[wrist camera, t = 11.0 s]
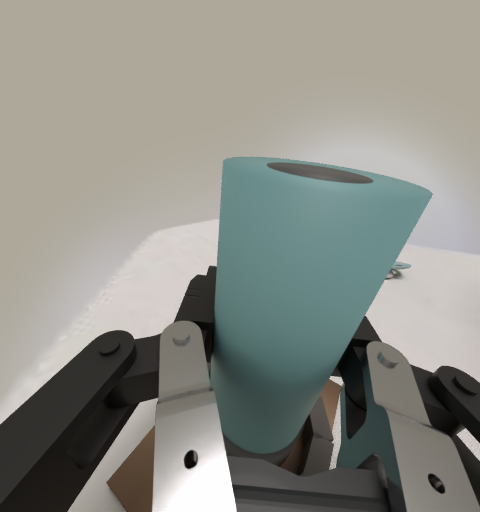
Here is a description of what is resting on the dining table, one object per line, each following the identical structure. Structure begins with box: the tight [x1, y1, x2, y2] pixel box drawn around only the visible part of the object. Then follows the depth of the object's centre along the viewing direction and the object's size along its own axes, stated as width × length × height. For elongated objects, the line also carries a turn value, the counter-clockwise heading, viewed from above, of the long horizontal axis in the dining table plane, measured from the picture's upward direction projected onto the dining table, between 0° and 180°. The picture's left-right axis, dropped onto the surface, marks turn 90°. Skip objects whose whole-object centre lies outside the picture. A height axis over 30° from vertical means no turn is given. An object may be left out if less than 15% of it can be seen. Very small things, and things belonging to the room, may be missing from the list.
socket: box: [106, 357, 341, 512], centre depth 13 cm, size 12×9×3 cm
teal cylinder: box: [210, 157, 433, 467], centre depth 9 cm, size 5×5×13 cm
